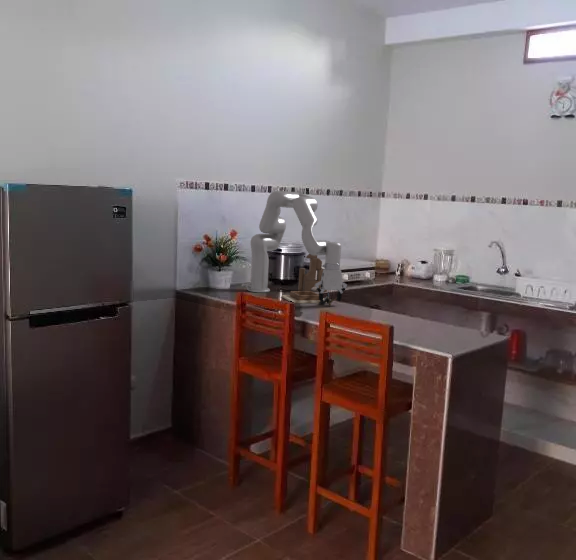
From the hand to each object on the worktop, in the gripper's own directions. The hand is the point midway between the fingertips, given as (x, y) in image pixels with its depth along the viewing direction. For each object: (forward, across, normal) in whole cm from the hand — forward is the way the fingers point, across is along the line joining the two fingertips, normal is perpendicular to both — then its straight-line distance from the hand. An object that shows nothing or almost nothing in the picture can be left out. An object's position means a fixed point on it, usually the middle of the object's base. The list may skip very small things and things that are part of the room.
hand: (329, 300), depth 318 cm
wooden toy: (+3, +8, +44) cm, 45 cm away
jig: (+2, -7, +16) cm, 18 cm away
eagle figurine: (+3, -1, +2) cm, 4 cm away
